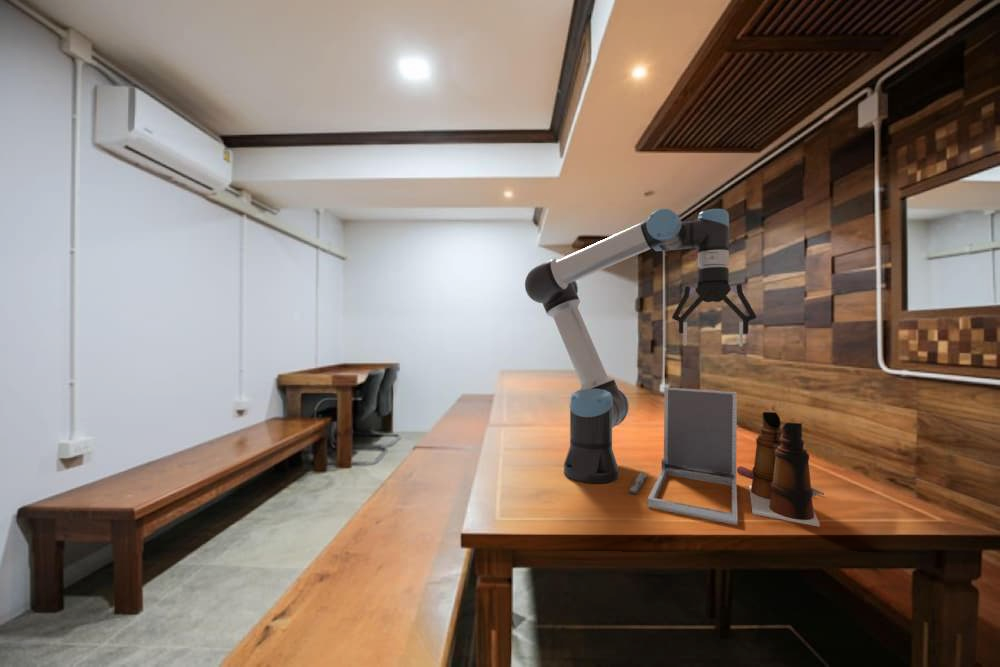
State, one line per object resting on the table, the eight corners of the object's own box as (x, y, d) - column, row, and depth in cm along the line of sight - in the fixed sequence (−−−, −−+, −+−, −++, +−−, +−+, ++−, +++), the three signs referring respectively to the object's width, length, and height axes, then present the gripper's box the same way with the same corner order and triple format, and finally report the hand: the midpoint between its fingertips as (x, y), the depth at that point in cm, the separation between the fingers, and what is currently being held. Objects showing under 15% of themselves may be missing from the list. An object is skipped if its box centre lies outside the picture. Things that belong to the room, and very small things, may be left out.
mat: (752, 513, 92) (752, 511, 92) (749, 487, 108) (749, 485, 108) (819, 526, 86) (819, 523, 86) (805, 496, 102) (806, 494, 102)
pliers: (801, 502, 100) (801, 491, 100) (734, 474, 119) (734, 465, 119) (837, 497, 103) (837, 487, 103) (766, 471, 122) (766, 462, 122)
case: (646, 506, 96) (647, 401, 95) (663, 472, 119) (663, 387, 119) (737, 525, 87) (738, 409, 87) (736, 483, 110) (737, 392, 110)
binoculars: (745, 486, 107) (746, 409, 107) (780, 488, 106) (781, 410, 105) (780, 518, 89) (781, 425, 89) (823, 521, 87) (824, 427, 87)
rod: (629, 494, 103) (629, 487, 103) (640, 477, 116) (639, 471, 116) (636, 496, 103) (636, 488, 103) (646, 478, 115) (646, 471, 115)
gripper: (662, 269, 115) (661, 345, 116) (768, 262, 103) (767, 347, 104) (665, 272, 122) (665, 344, 122) (766, 266, 110) (765, 346, 110)
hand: (712, 345), depth 113 cm, fingers open, 13 cm apart
